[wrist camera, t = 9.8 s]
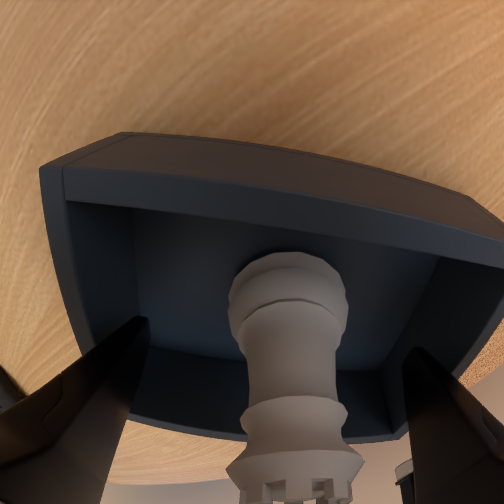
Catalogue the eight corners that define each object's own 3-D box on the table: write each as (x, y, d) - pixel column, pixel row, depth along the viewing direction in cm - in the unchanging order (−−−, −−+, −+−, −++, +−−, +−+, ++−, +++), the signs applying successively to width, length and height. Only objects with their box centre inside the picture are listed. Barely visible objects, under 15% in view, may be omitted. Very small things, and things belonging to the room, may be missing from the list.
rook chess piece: (361, 302, 12) (414, 491, 5) (273, 348, 13) (271, 522, 6) (303, 220, 10) (351, 468, 3) (205, 284, 12) (153, 492, 5)
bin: (468, 196, 10) (539, 253, 6) (381, 371, 15) (399, 440, 11) (120, 131, 9) (37, 166, 5) (136, 343, 15) (107, 414, 11)
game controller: (-12, 363, 18) (2, 425, 16) (30, 364, 23) (43, 420, 21) (-31, 369, 20) (-21, 418, 18) (3, 370, 25) (13, 416, 23)
